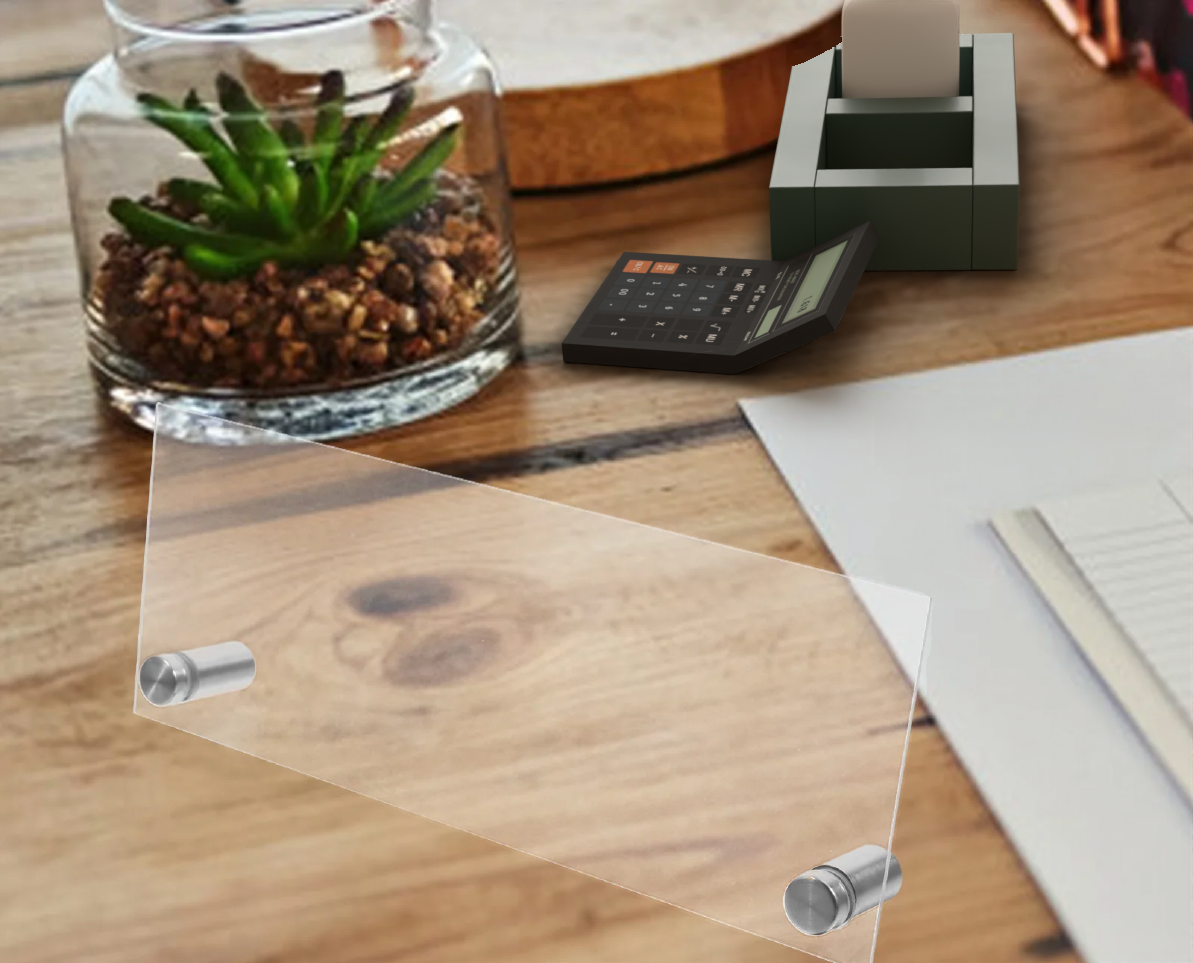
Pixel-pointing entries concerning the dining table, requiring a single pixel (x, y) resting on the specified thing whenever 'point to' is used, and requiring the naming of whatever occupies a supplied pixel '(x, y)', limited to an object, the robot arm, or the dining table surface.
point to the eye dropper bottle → (900, 48)
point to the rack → (903, 165)
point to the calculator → (718, 307)
